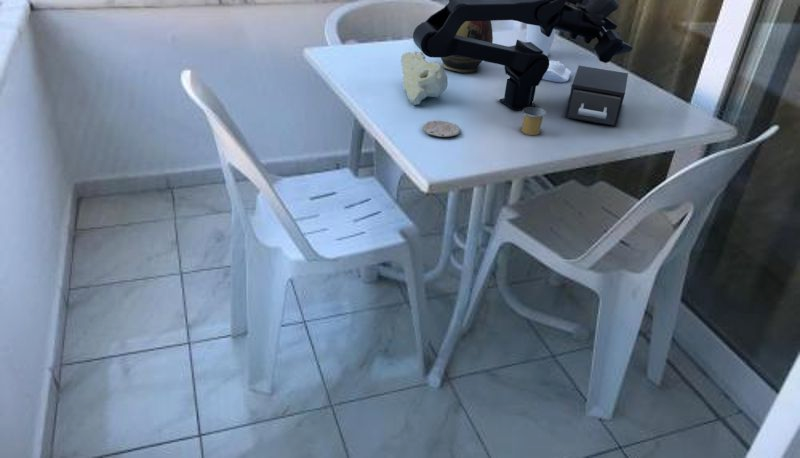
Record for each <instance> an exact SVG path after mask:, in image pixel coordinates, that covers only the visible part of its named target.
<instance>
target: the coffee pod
mask: <svg viewBox="0 0 800 458" xmlns="http://www.w3.org/2000/svg"><path fill="white" fill-rule="evenodd" d="M522 113H523V120H522V124H521V132H522V133H523V134H525V135H529V136H537V135H539V134H540V133H541V128H542V123H543V117H545V116H546V114H547V112H546V110H544V108H541V107H537V106H536V107H525V108H523V110H522Z"/></svg>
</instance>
